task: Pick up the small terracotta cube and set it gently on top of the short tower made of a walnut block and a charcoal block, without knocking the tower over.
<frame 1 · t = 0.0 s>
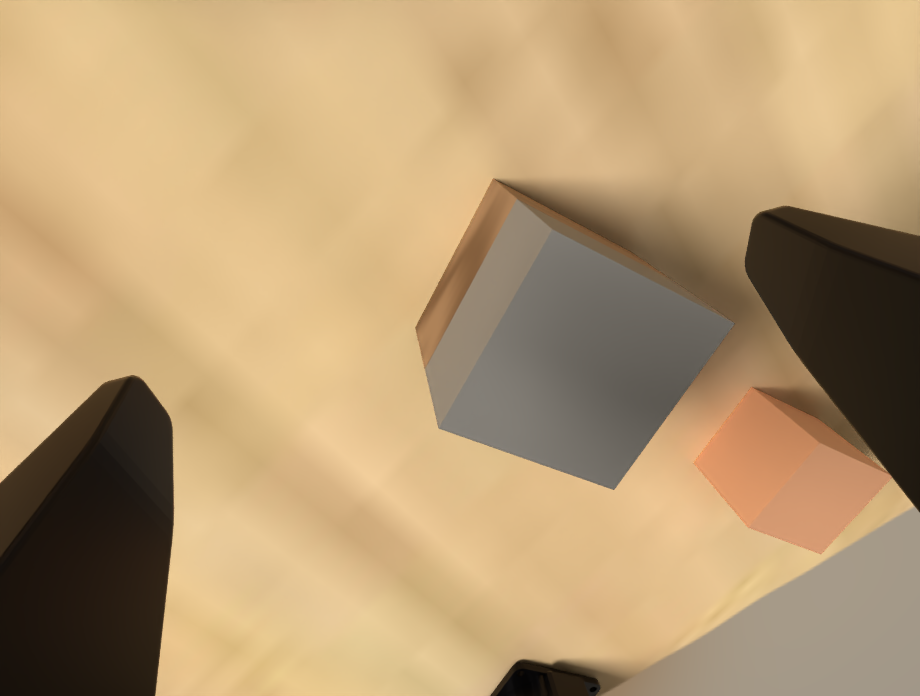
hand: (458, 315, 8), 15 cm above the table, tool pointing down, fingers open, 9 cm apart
tower top: (549, 324, 22), point 4 cm above the table, touching tower base
terracotta cube: (754, 439, 31), on the table
tower base: (522, 288, 26), on the table, touching tower top
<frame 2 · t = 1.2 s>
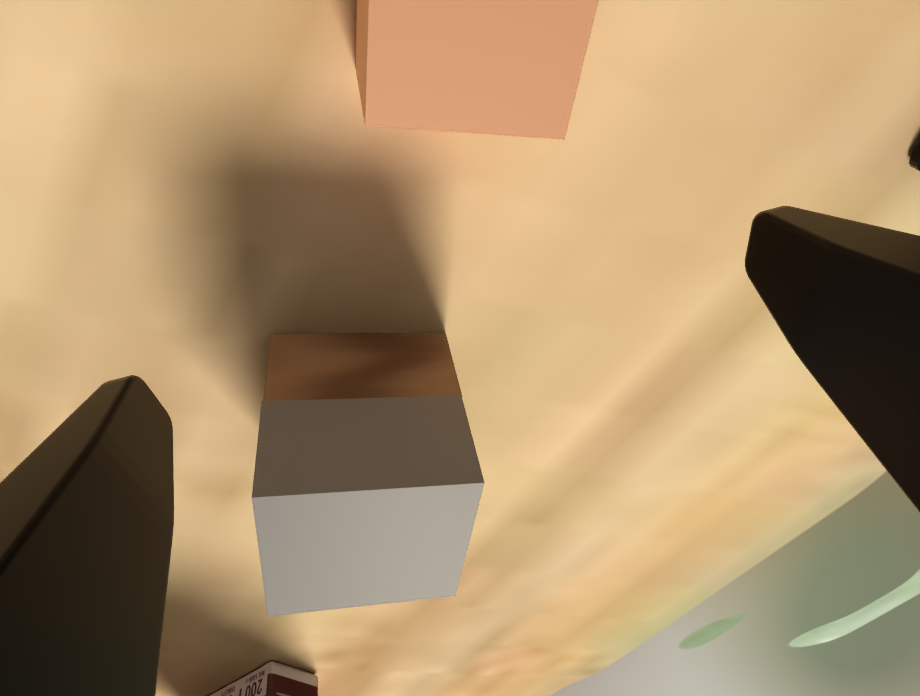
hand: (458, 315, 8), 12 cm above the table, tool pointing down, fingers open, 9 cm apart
tower top: (362, 462, 23), point 4 cm above the table, touching tower base
supplement box: (252, 686, 43), on the table
tower base: (358, 393, 26), on the table, touching tower top
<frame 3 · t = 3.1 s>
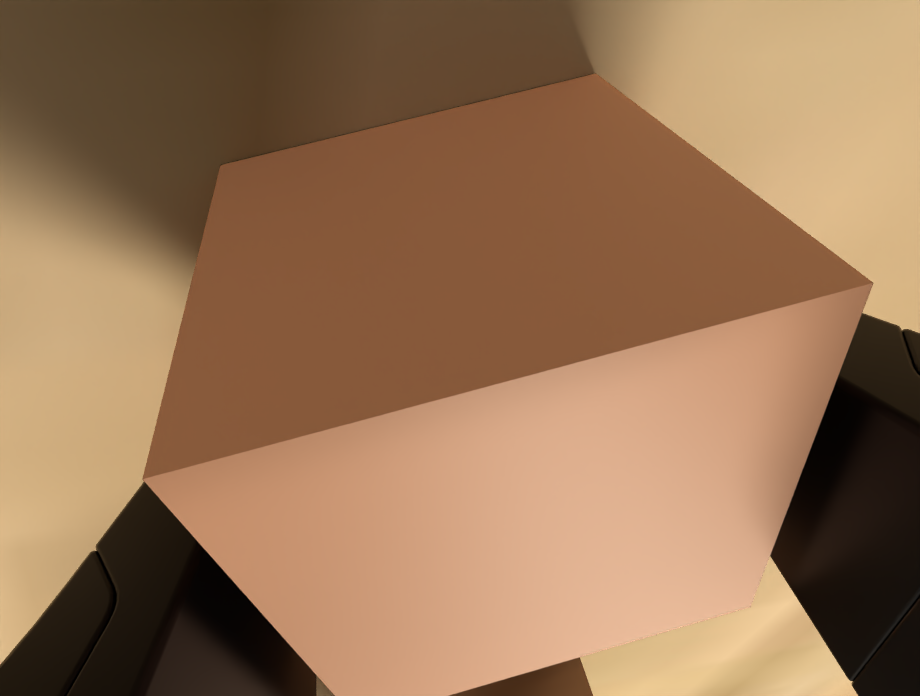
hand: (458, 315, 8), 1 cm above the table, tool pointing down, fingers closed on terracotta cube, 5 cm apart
terracotta cube: (445, 275, 9), on the table, touching gripper
tower base: (464, 673, 20), on the table, touching tower top
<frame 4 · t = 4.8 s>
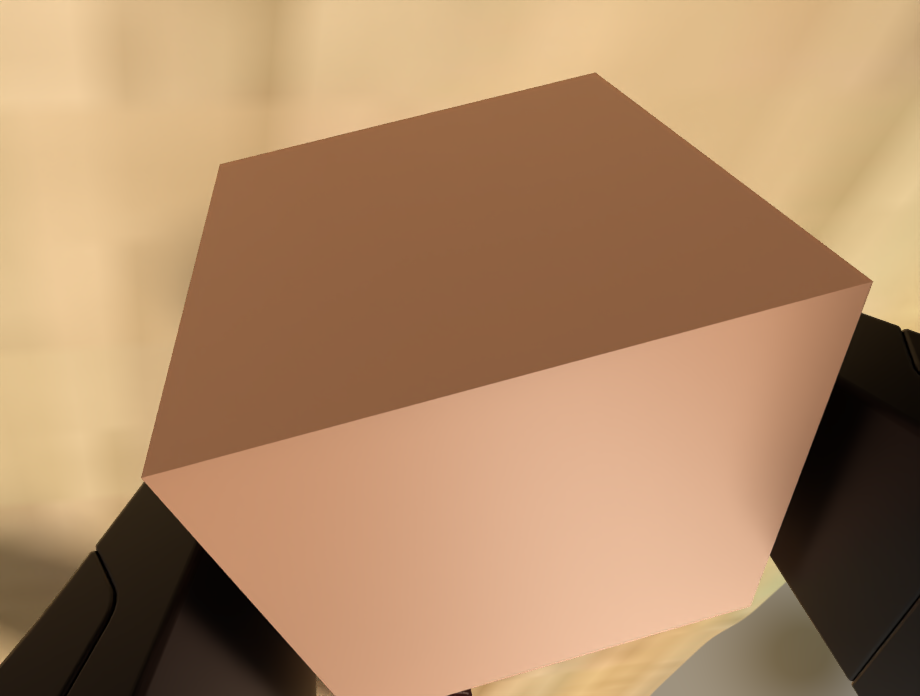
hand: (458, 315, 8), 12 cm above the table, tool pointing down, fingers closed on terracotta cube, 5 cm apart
terracotta cube: (445, 275, 9), point 11 cm above the table, touching gripper
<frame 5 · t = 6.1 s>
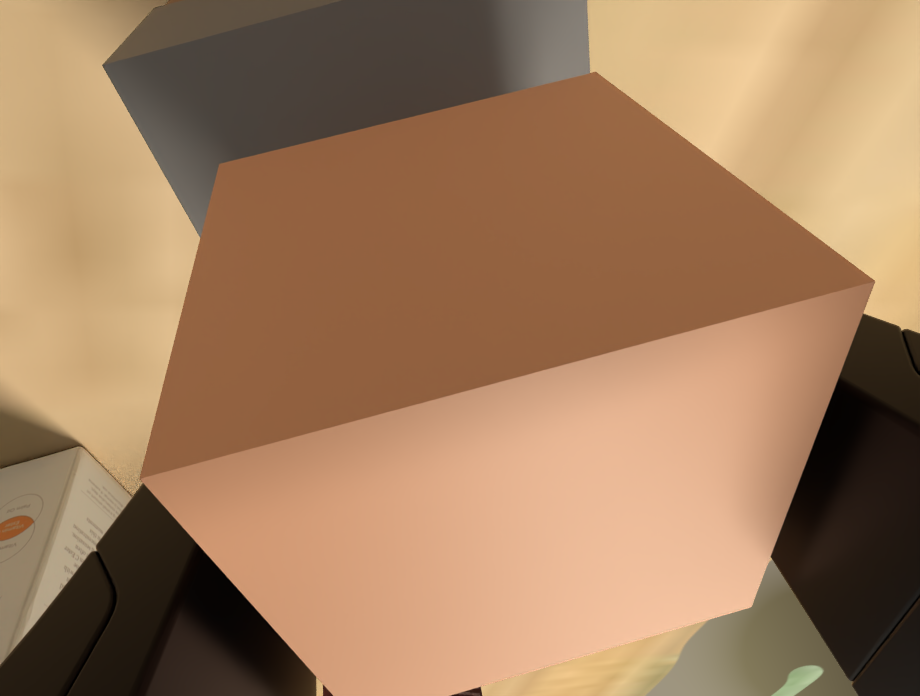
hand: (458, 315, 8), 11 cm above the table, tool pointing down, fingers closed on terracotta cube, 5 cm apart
tower top: (383, 136, 14), point 4 cm above the table, touching tower base
terracotta cube: (444, 275, 9), point 10 cm above the table, touching gripper
small box: (35, 511, 24), on the table
when the fingers open (10 cm above the table, at t = 6.9 s): terracotta cube drops 2 cm, resting on tower top.
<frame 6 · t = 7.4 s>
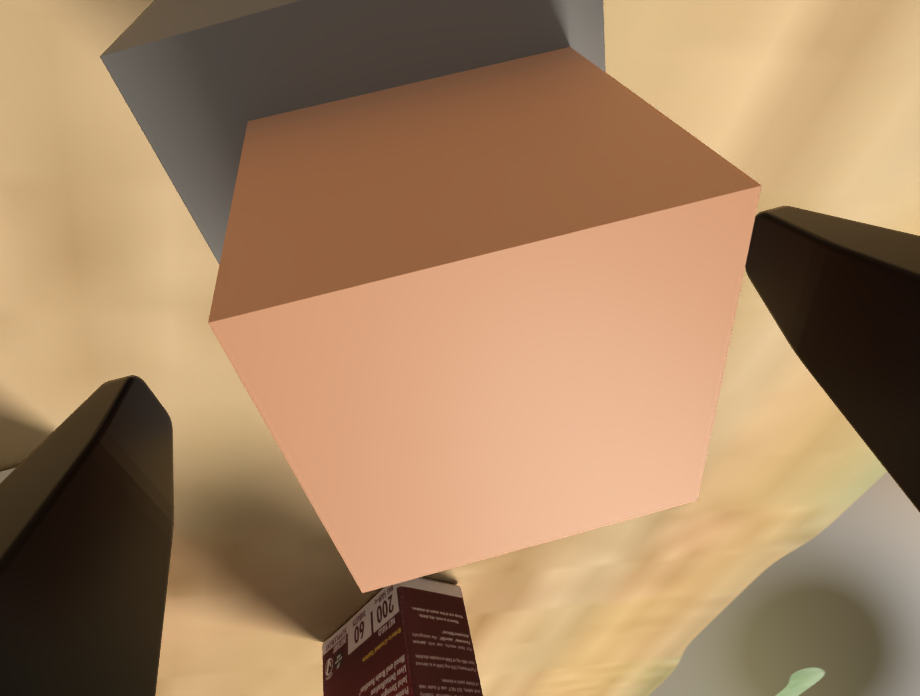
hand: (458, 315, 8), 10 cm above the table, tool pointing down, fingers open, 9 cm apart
tower top: (390, 131, 13), point 4 cm above the table, touching terracotta cube, tower base
terracotta cube: (440, 227, 11), point 8 cm above the table, touching tower top
supplement box: (387, 610, 35), on the table
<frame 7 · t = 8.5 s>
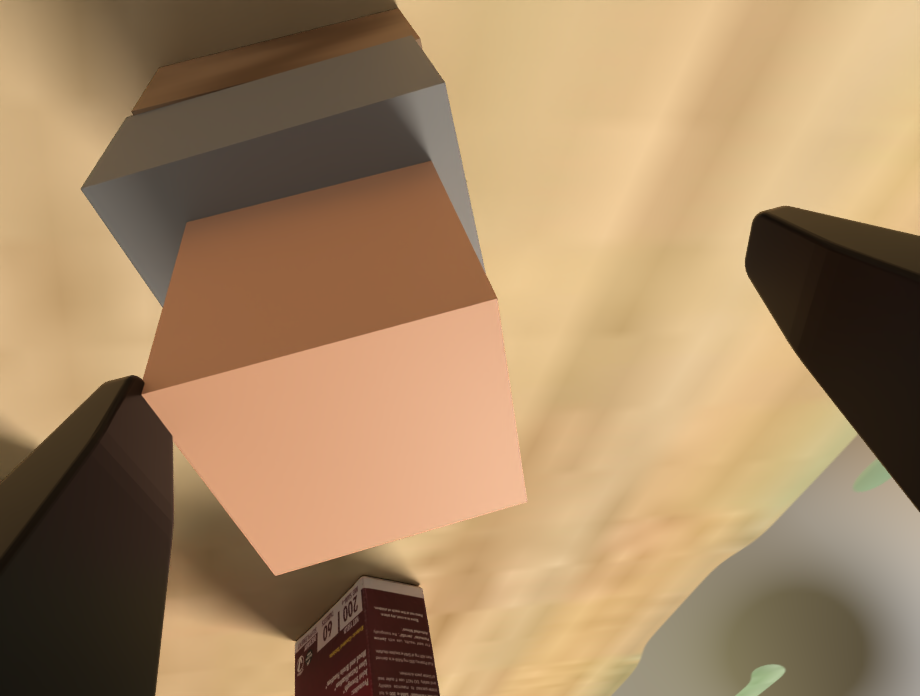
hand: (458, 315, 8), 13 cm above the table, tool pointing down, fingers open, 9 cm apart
tower top: (322, 206, 16), point 4 cm above the table, touching terracotta cube, tower base
terracotta cube: (346, 291, 13), point 8 cm above the table, touching gripper, tower top
supplement box: (355, 611, 38), on the table
tower base: (319, 152, 19), on the table, touching tower top
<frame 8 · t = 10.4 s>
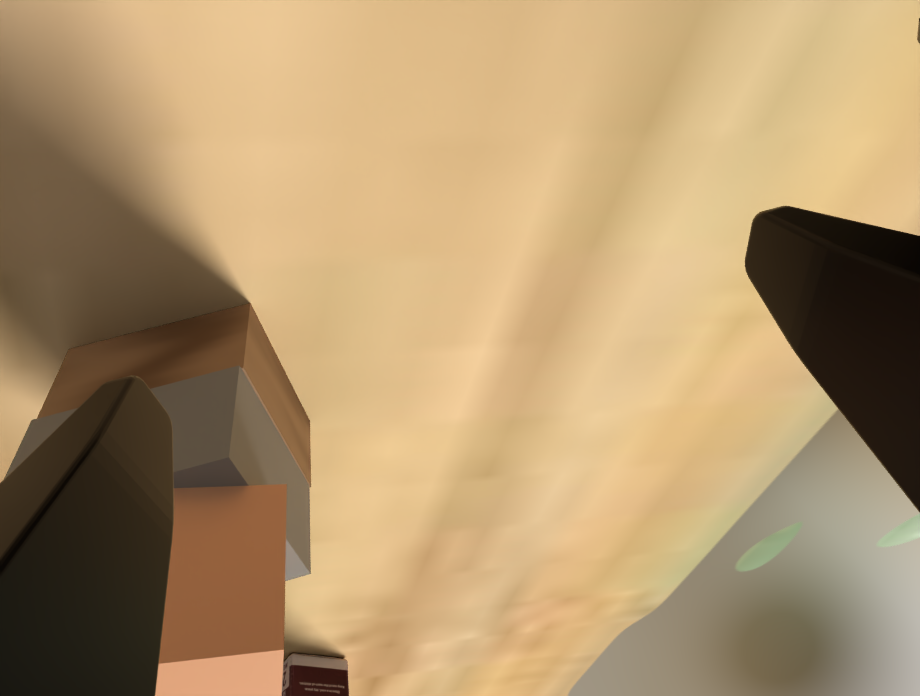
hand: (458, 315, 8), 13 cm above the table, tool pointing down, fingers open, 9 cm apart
tower top: (186, 456, 22), point 4 cm above the table, touching terracotta cube, tower base
terracotta cube: (203, 536, 19), point 8 cm above the table, touching tower top
supplement box: (291, 677, 44), on the table
tower base: (202, 385, 25), on the table, touching tower top
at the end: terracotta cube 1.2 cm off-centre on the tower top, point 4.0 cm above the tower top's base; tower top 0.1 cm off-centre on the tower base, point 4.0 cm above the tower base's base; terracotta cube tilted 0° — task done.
